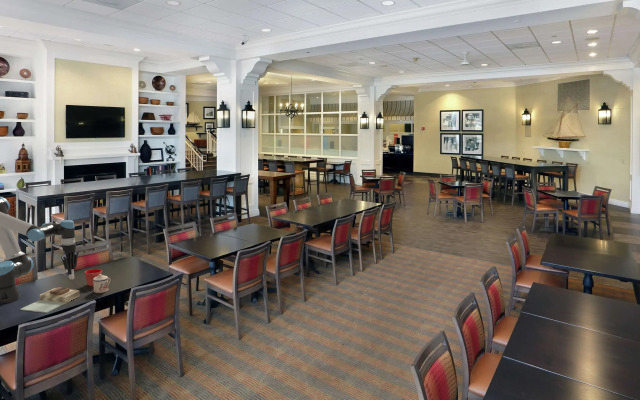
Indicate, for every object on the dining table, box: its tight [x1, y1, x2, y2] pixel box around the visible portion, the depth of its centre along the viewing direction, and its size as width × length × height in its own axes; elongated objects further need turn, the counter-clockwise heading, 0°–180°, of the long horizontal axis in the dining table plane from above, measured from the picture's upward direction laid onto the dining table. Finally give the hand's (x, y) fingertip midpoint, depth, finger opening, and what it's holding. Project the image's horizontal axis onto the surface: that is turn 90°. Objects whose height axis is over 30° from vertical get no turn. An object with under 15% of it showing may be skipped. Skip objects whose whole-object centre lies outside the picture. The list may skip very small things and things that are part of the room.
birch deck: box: [39, 287, 81, 305], centre depth 260 cm, size 18×12×4 cm, turn 81°
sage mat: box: [19, 299, 66, 314], centre depth 248 cm, size 18×14×1 cm
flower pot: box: [84, 268, 103, 287], centre depth 286 cm, size 11×11×10 cm
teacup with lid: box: [93, 273, 111, 294], centre depth 276 cm, size 12×9×12 cm
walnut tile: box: [50, 286, 71, 295], centre depth 260 cm, size 8×7×2 cm
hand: (71, 278), depth 269 cm, fingers closed
